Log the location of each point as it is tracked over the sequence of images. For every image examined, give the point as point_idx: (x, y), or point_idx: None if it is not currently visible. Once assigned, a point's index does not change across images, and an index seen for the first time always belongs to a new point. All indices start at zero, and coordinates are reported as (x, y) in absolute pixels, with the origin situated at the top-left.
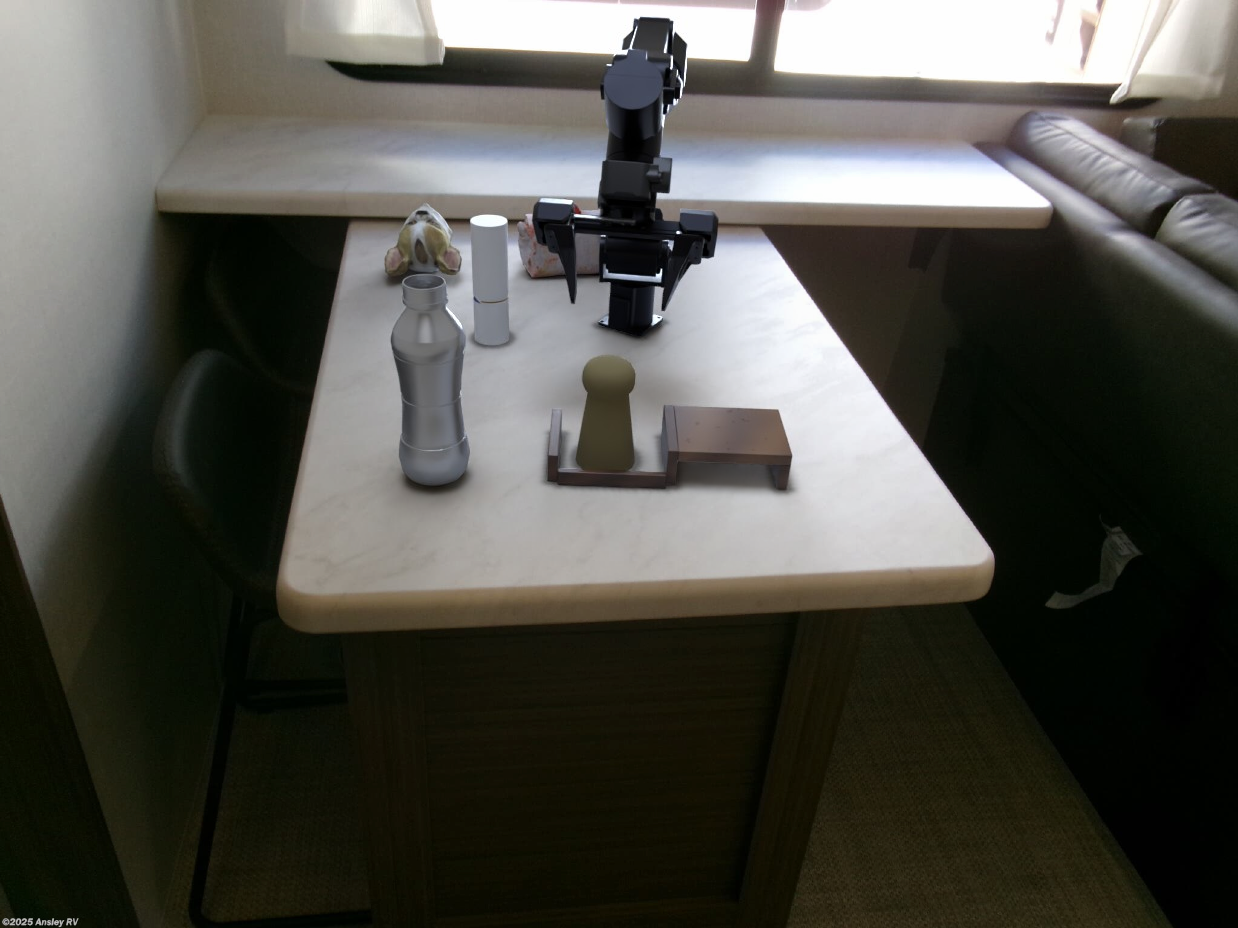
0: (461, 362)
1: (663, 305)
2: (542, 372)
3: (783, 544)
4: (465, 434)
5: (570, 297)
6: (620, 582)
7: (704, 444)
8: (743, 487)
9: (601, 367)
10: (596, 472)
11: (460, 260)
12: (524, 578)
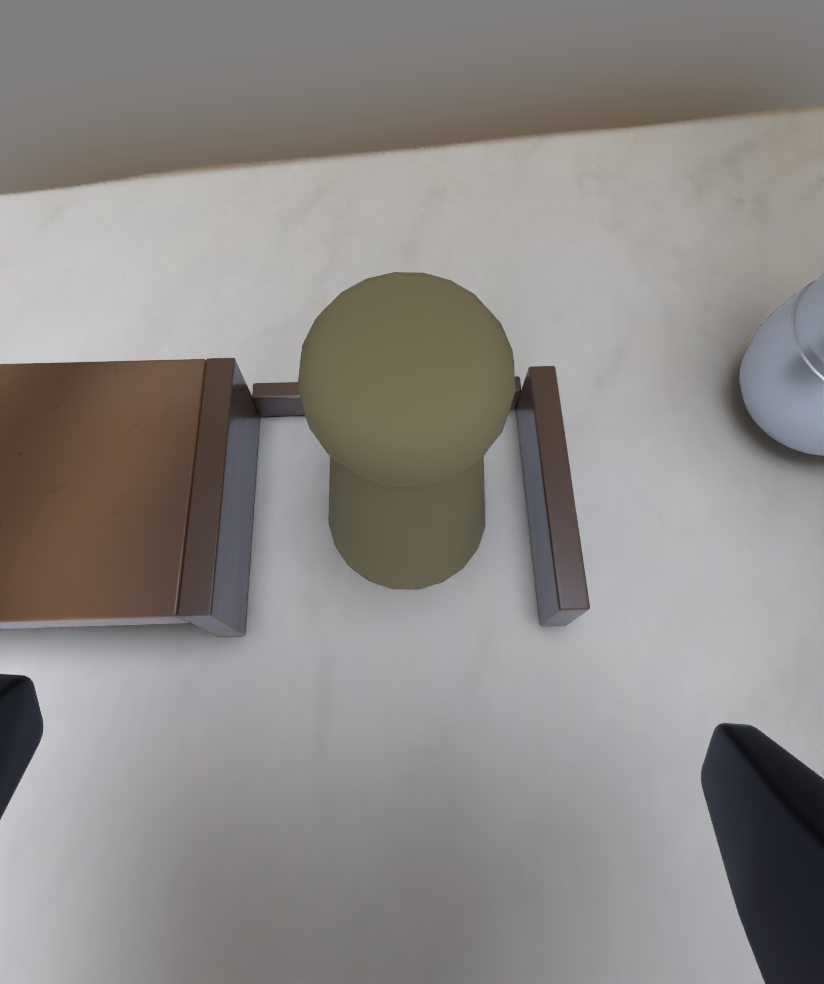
0: None
1: (4, 681)
2: None
3: (49, 253)
4: (796, 345)
5: (759, 730)
6: (368, 154)
7: (125, 393)
8: None
9: (439, 296)
10: None
11: None
12: (528, 153)
